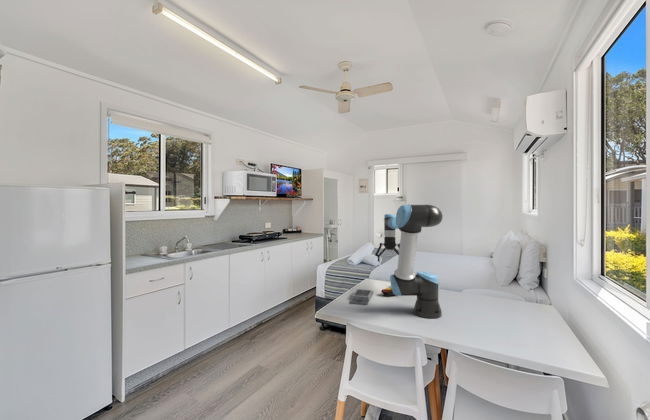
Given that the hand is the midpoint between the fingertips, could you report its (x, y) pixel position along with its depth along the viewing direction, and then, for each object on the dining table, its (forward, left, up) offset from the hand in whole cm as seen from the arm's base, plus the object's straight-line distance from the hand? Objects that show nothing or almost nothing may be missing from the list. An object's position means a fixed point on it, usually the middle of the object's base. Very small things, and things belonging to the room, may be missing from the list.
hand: (389, 267), depth 196 cm
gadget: (-3, +2, -20) cm, 21 cm away
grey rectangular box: (-11, +17, -19) cm, 28 cm away
